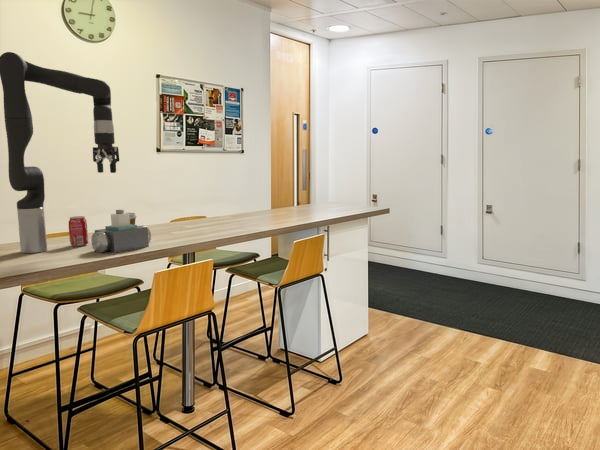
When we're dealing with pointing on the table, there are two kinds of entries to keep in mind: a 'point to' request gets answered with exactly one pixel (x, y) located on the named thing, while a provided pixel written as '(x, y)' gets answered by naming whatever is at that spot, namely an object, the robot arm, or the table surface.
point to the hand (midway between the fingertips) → (106, 172)
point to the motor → (120, 238)
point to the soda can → (78, 231)
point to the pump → (120, 219)
